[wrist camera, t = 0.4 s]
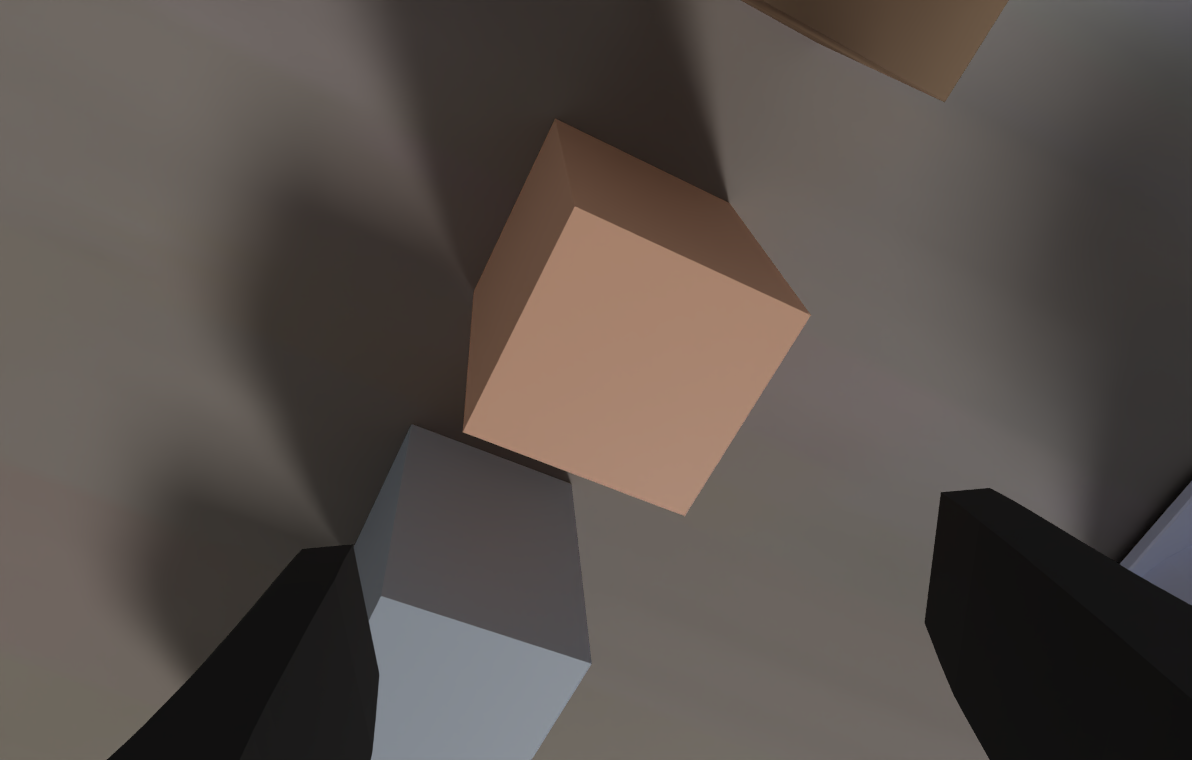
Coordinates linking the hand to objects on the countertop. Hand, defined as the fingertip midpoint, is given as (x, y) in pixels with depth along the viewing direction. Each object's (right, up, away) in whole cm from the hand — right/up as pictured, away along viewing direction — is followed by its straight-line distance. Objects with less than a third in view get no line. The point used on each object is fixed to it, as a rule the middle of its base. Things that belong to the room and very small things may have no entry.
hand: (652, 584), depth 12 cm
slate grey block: (-4, -1, +11) cm, 12 cm away
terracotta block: (-1, +5, +8) cm, 10 cm away
